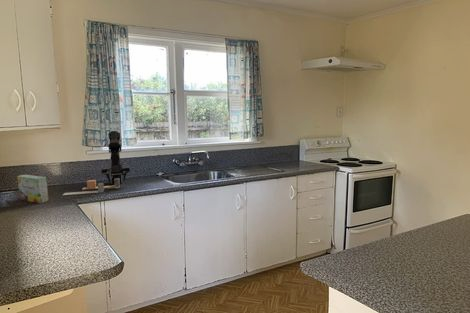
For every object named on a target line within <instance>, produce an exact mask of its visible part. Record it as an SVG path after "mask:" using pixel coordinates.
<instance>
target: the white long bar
mask: <svg viewBox="0 0 470 313" xmlns="http://www.w3.org/2000/svg"><path fill="white" fill-rule="evenodd" d="M104 186H105V184H104V182H99V183H97V187H98V188H97V190H87V191H86V190H85V191H73V192H64V193H63V194H62V196H68V195H72V196H73V195H83V194H84V195H85V194H97V193H103V192H104V191H105V188H104Z"/></svg>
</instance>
